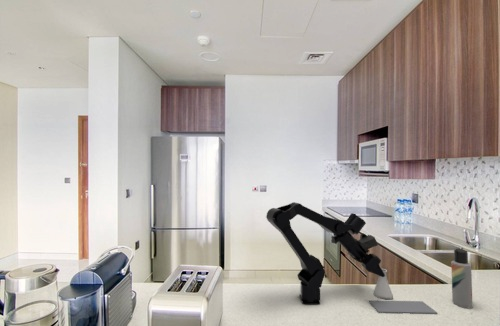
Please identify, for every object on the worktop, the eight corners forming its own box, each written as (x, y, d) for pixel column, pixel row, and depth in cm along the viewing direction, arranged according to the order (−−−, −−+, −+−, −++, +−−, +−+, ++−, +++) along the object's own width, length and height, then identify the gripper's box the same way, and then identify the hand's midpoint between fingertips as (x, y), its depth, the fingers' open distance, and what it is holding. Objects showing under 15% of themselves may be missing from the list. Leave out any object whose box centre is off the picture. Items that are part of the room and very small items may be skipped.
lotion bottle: (468, 302, 95) (466, 248, 96) (475, 309, 90) (473, 252, 90) (449, 299, 97) (448, 246, 98) (456, 306, 91) (454, 250, 92)
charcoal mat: (378, 313, 87) (378, 311, 87) (368, 301, 95) (368, 300, 95) (437, 314, 86) (437, 312, 86) (422, 302, 94) (422, 301, 94)
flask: (396, 301, 95) (395, 274, 96) (375, 299, 97) (375, 272, 97) (389, 292, 103) (389, 267, 103) (370, 290, 104) (370, 265, 104)
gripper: (374, 234, 92) (406, 265, 91) (354, 224, 110) (380, 250, 110) (353, 256, 92) (384, 287, 91) (336, 242, 110) (362, 268, 110)
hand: (378, 271), depth 100 cm, fingers open, 9 cm apart
